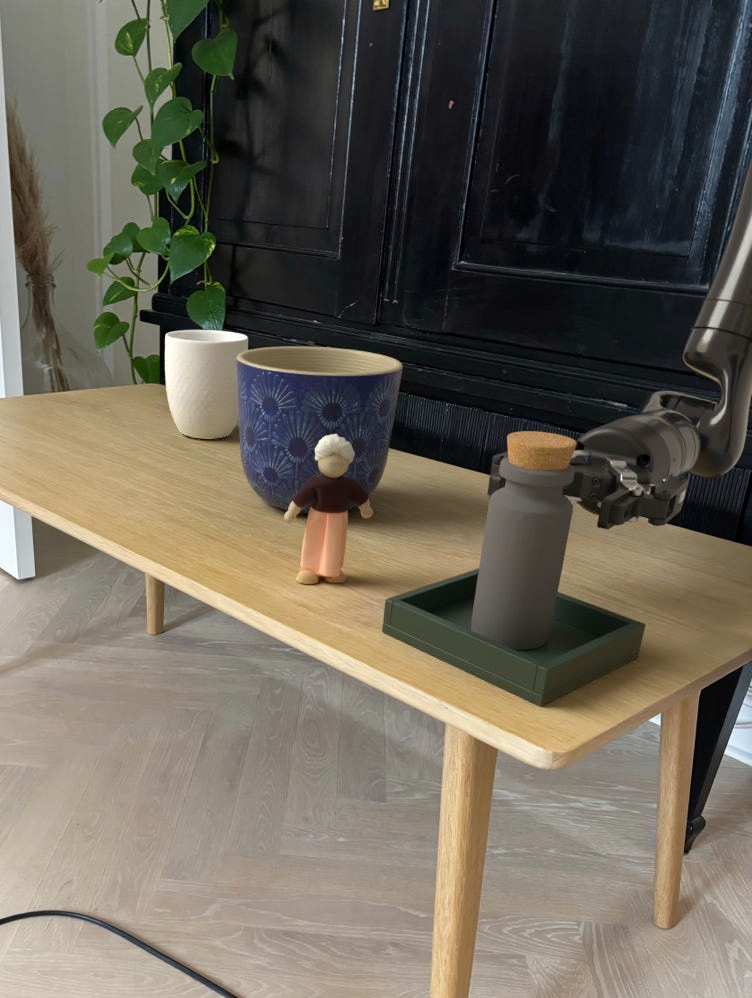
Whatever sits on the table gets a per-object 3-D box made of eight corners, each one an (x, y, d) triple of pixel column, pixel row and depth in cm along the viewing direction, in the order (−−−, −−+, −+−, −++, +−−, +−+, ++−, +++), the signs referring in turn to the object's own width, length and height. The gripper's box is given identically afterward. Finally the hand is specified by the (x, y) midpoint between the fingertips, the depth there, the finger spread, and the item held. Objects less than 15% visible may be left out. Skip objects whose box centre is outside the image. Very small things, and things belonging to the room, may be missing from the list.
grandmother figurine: (295, 590, 80) (304, 442, 74) (277, 574, 83) (284, 431, 77) (374, 580, 83) (388, 437, 77) (354, 565, 86) (366, 426, 80)
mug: (170, 417, 137) (170, 324, 132) (246, 421, 138) (249, 327, 132) (161, 442, 124) (160, 339, 118) (244, 445, 124) (248, 343, 119)
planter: (273, 535, 92) (280, 376, 86) (209, 488, 106) (211, 347, 99) (419, 518, 99) (436, 370, 93) (340, 476, 113) (350, 344, 106)
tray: (638, 657, 71) (646, 623, 70) (540, 707, 63) (547, 670, 62) (482, 595, 81) (486, 565, 79) (381, 632, 73) (385, 598, 72)
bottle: (489, 612, 75) (518, 424, 69) (559, 632, 72) (597, 438, 66) (457, 635, 71) (485, 437, 65) (530, 658, 68) (567, 453, 62)
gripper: (555, 405, 83) (467, 433, 71) (724, 434, 75) (656, 471, 63) (541, 488, 86) (455, 528, 75) (701, 524, 78) (633, 575, 67)
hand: (547, 502), depth 69 cm, fingers open, 8 cm apart
